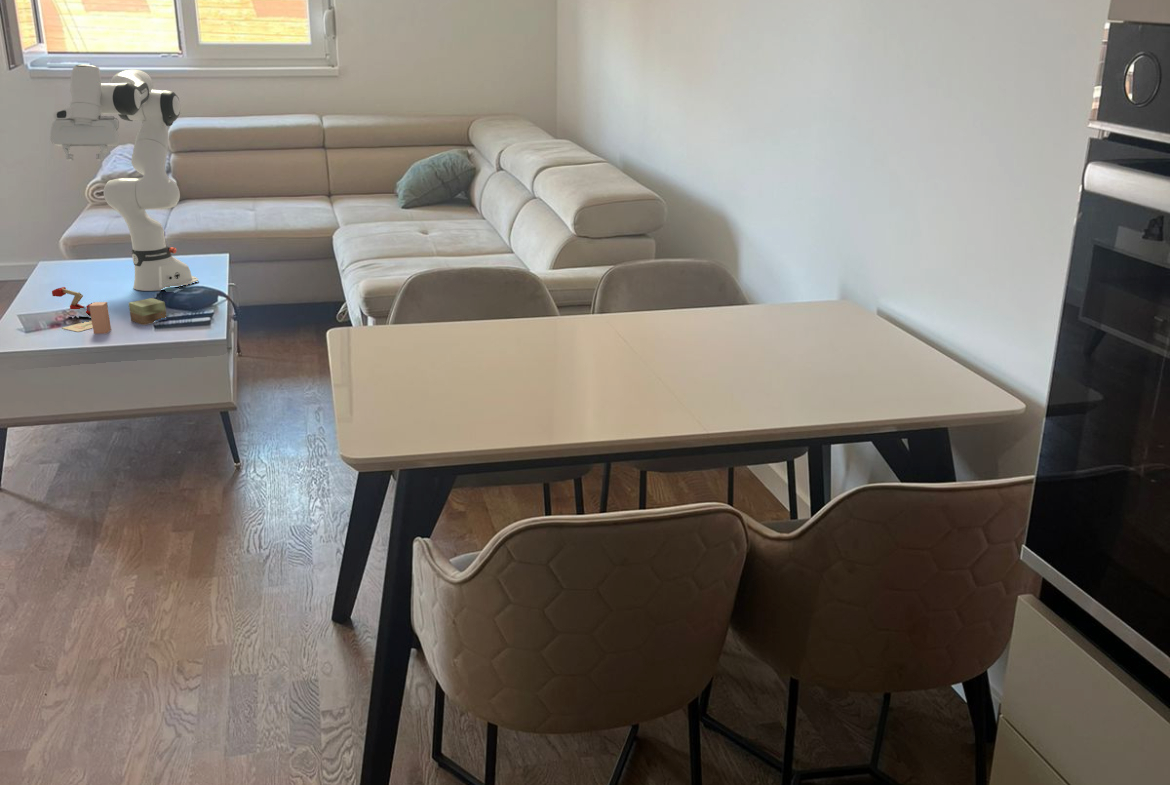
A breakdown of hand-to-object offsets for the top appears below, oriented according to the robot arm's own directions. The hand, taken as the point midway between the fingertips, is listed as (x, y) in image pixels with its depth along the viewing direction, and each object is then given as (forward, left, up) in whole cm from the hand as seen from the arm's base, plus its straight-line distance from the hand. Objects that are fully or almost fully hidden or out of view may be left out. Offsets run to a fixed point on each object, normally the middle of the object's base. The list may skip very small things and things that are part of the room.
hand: (84, 160), depth 332 cm
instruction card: (+11, +5, -50) cm, 52 cm away
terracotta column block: (+10, +15, -50) cm, 54 cm away
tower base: (-6, +14, -50) cm, 53 cm away
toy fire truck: (+7, -7, -51) cm, 52 cm away
